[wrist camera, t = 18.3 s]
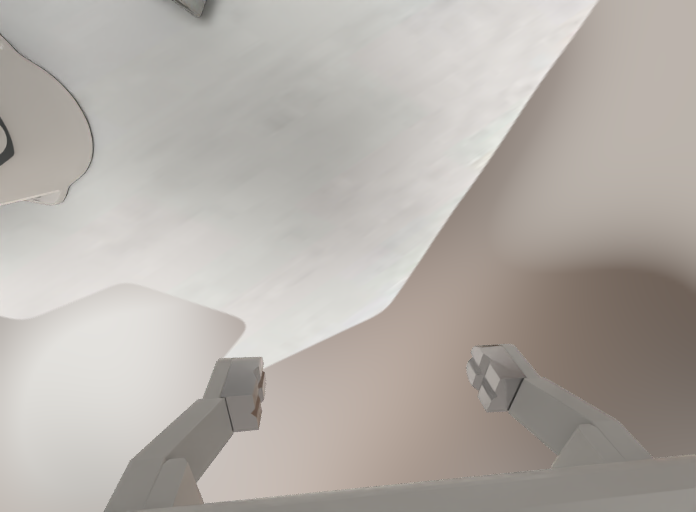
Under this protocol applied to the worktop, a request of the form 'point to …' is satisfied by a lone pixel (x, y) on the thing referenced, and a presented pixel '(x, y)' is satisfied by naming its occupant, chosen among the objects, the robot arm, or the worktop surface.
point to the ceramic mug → (192, 6)
